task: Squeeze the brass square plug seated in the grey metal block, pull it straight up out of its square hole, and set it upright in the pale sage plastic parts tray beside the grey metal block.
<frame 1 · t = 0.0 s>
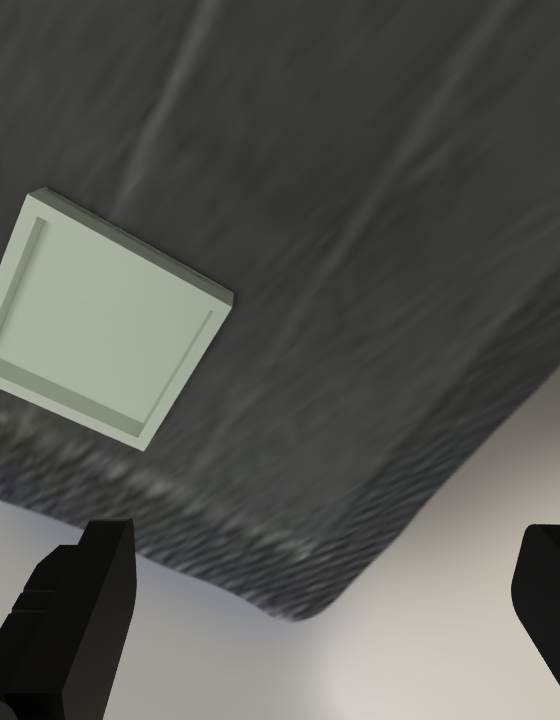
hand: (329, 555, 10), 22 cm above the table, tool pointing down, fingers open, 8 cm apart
parts tray: (104, 323, 31), on the table
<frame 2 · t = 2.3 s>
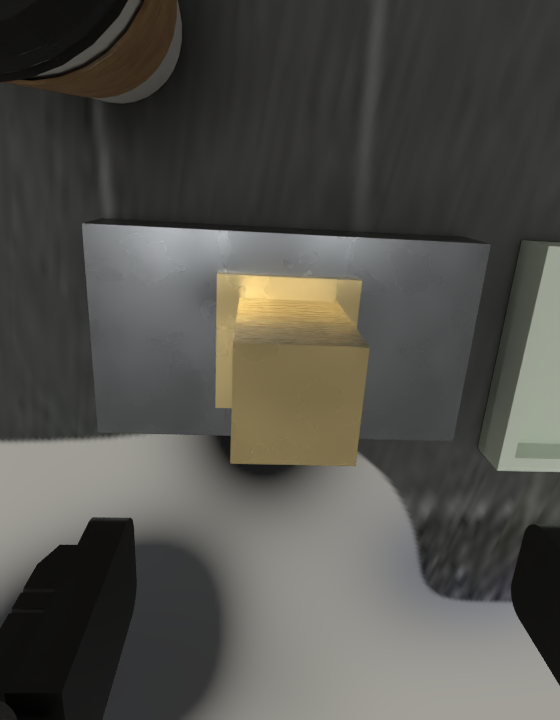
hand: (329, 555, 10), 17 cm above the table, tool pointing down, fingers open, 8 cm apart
coffee cup: (114, 29, 22), on the table
brass plug: (288, 358, 21), in the grey metal block
grey metal block: (281, 325, 26), on the table
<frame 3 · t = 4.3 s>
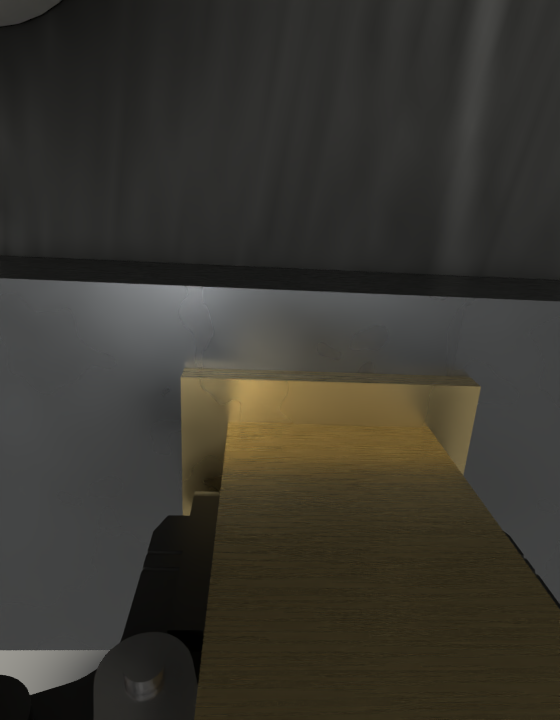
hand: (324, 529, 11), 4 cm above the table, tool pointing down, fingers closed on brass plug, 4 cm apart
brass plug: (331, 558, 10), in the grey metal block, touching gripper
grey metal block: (306, 436, 15), on the table
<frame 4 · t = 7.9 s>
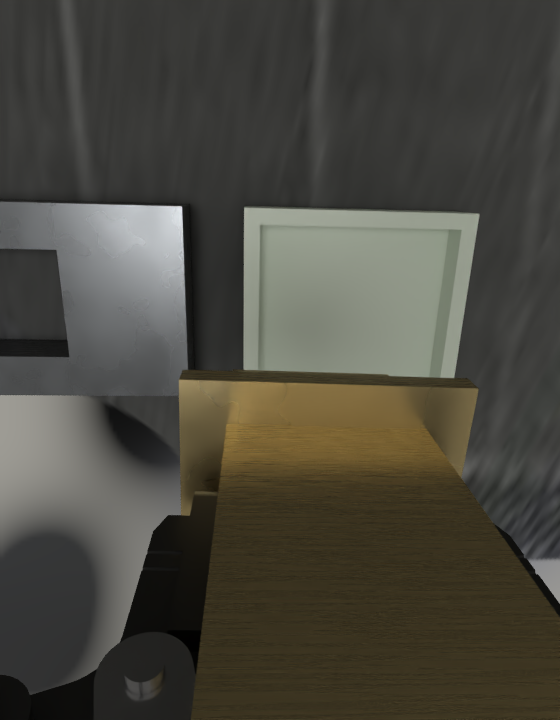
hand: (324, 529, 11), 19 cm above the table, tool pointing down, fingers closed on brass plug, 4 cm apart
brass plug: (329, 560, 10), point 20 cm above the table, touching gripper
grey metal block: (31, 292, 28), on the table
parts tray: (346, 314, 29), on the table
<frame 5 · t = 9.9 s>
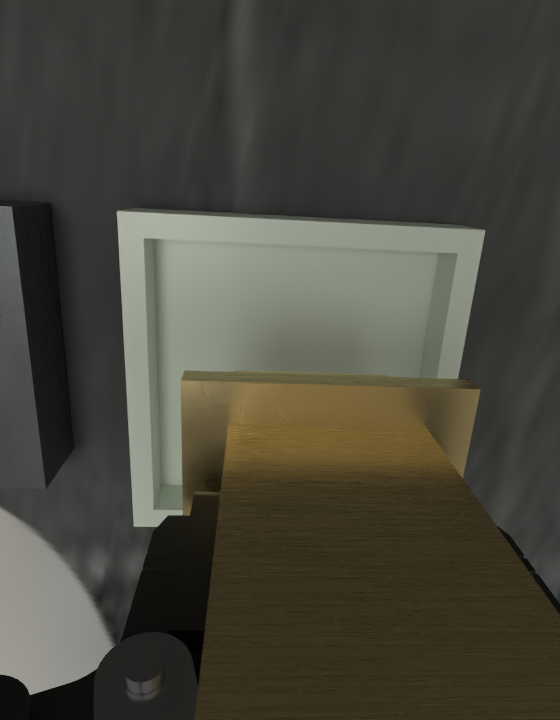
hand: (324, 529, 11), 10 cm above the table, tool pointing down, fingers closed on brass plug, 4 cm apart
brass plug: (331, 561, 10), point 11 cm above the table, touching gripper
parts tray: (289, 367, 20), on the table
when the fingers open (7 cm above the table, at t = 11.4 s): brass plug drops 2 cm, resting on parts tray.
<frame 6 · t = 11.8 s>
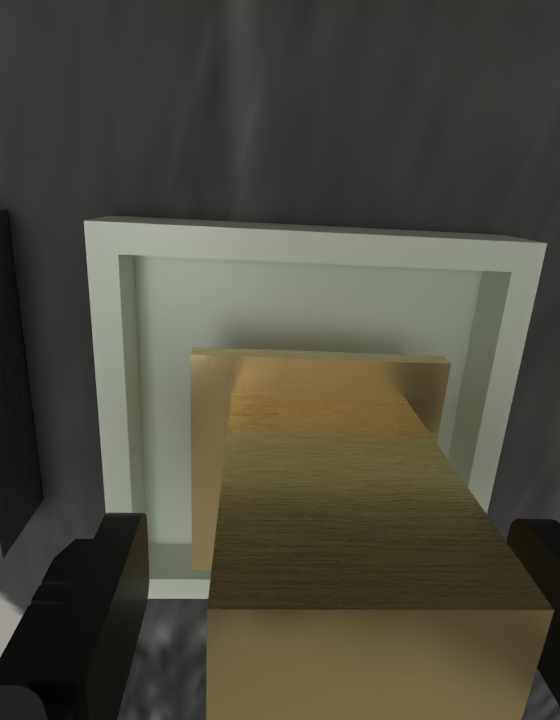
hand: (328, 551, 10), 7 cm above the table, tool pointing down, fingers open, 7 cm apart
brass plug: (320, 510, 12), in the parts tray, point 6 cm above the table
parts tray: (299, 405, 17), on the table
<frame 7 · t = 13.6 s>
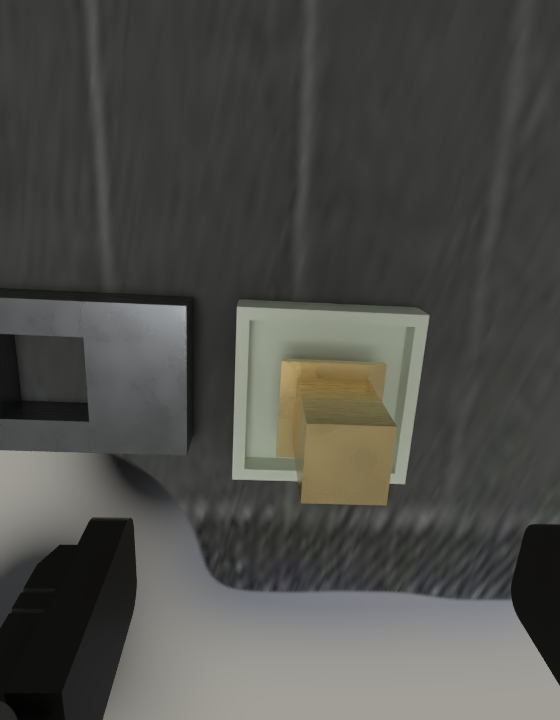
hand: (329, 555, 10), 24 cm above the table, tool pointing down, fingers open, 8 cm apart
brass plug: (333, 423, 29), in the parts tray, point 6 cm above the table
grey metal block: (59, 364, 34), on the table
parts tray: (321, 387, 35), on the table
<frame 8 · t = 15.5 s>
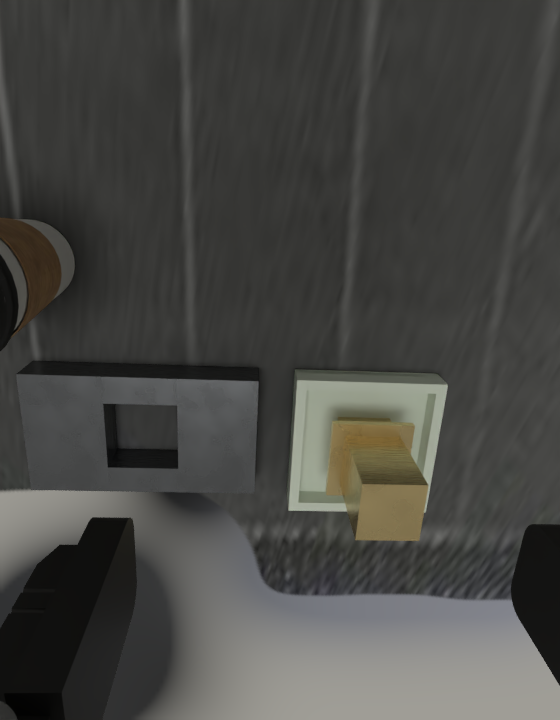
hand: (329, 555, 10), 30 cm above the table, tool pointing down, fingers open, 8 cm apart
coffee cup: (36, 259, 37), on the table
brass plug: (374, 472, 38), in the parts tray, point 6 cm above the table
grey metal block: (149, 420, 42), on the table
parts tray: (359, 435, 43), on the table
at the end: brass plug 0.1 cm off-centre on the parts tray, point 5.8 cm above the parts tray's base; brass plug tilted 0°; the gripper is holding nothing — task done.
